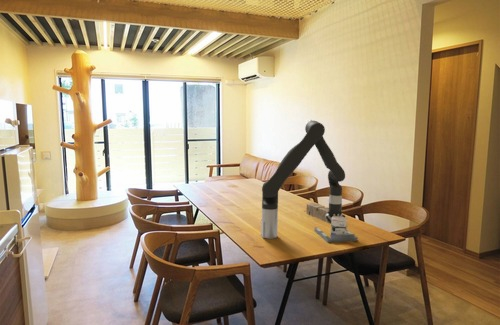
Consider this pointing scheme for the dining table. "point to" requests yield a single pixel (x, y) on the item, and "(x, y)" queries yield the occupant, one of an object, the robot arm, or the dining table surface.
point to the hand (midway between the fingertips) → (334, 230)
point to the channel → (337, 236)
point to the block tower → (317, 211)
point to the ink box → (338, 225)
